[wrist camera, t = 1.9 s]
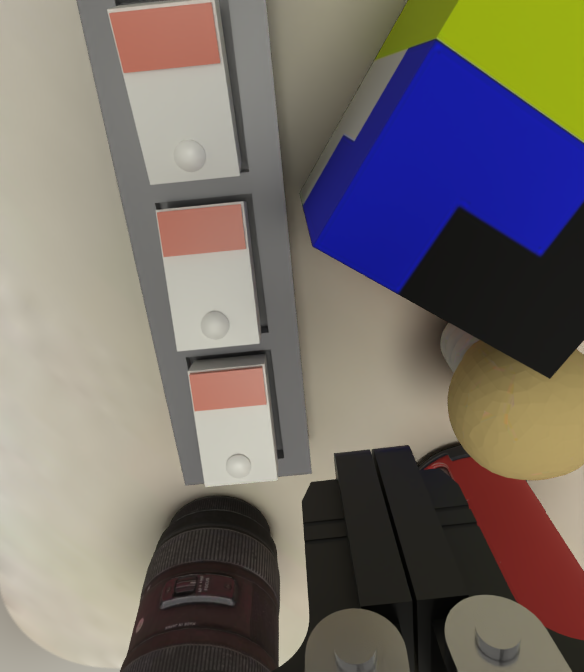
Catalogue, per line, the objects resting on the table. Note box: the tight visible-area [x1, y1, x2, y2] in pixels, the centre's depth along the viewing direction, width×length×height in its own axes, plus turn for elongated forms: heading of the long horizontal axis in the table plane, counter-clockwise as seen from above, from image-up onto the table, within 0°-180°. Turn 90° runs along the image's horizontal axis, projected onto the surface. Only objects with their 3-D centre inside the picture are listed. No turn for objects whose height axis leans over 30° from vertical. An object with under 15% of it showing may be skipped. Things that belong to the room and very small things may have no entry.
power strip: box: [77, 0, 312, 485], centre depth 25 cm, size 26×7×3 cm, turn 5°
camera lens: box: [120, 496, 280, 672], centre depth 28 cm, size 8×8×15 cm
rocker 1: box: [107, 0, 241, 185], centre depth 20 cm, size 6×4×2 cm, turn 6°
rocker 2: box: [155, 201, 261, 351], centre depth 23 cm, size 6×4×2 cm, turn 5°
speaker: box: [418, 445, 584, 640], centre depth 26 cm, size 8×8×18 cm
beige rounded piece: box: [440, 323, 584, 480], centre depth 25 cm, size 6×6×10 cm
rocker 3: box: [188, 354, 278, 487], centre depth 26 cm, size 6×4×2 cm, turn 5°
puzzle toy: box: [300, 0, 584, 379], centre depth 21 cm, size 10×10×10 cm
